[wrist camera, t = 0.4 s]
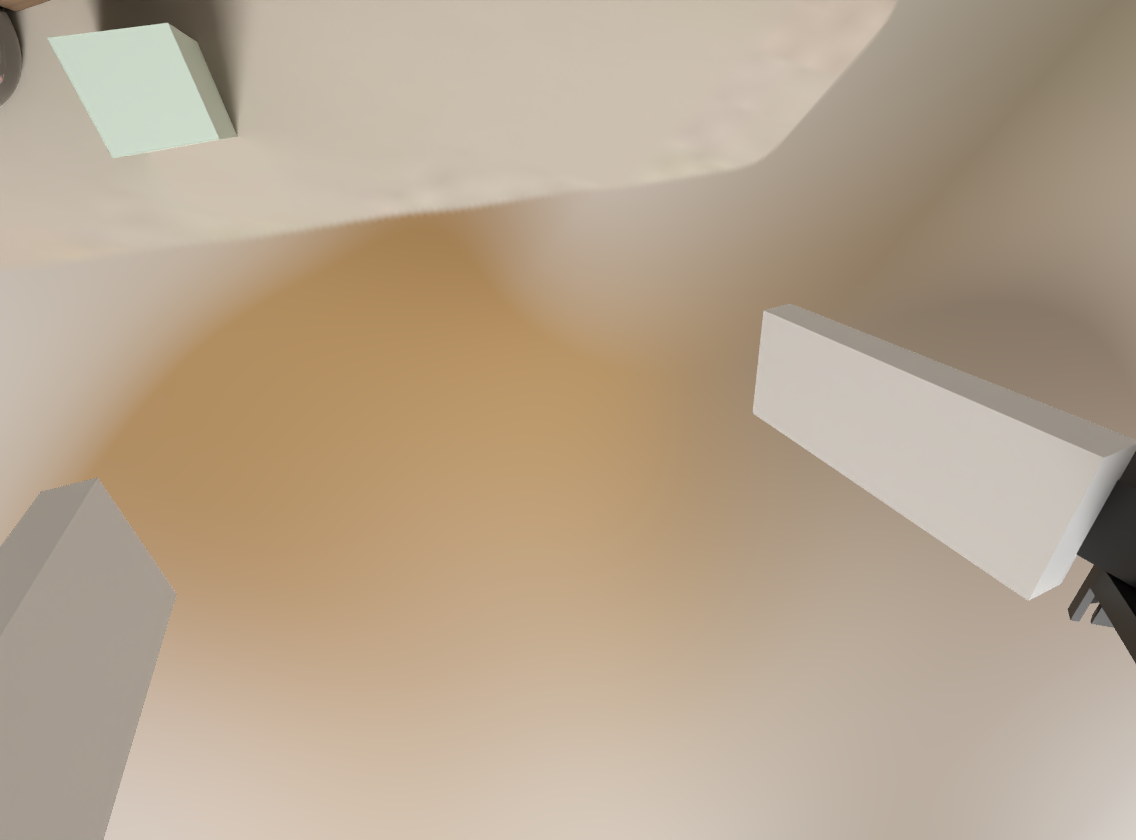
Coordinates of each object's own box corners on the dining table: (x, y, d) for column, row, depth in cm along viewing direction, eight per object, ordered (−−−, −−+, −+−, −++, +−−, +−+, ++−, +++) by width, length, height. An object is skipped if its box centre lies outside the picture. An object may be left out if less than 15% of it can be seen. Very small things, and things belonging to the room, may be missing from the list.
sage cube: (101, 54, 24) (47, 38, 20) (197, 42, 25) (167, 23, 21) (151, 151, 27) (112, 158, 22) (237, 136, 28) (219, 139, 23)
